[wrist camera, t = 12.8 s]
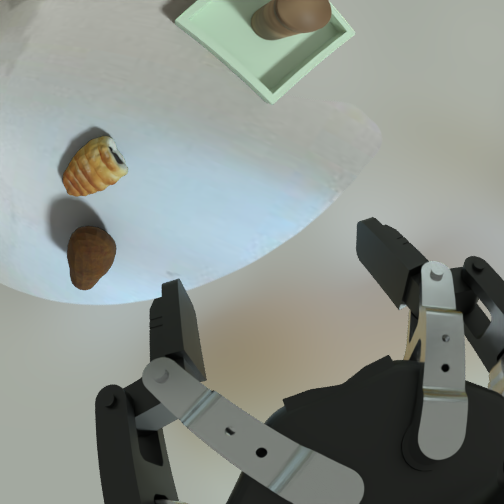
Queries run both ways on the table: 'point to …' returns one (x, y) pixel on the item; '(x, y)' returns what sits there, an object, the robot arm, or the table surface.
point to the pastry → (94, 167)
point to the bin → (260, 44)
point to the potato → (89, 256)
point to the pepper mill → (290, 18)
